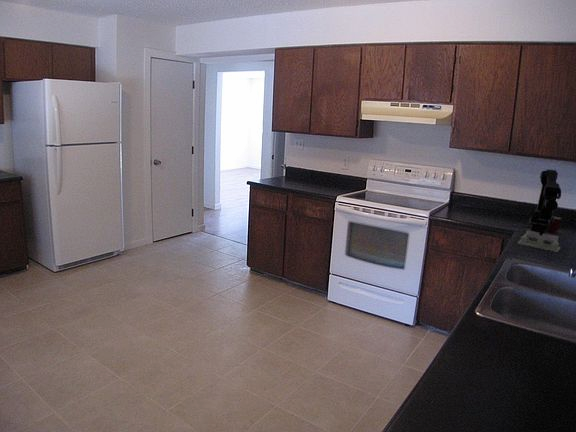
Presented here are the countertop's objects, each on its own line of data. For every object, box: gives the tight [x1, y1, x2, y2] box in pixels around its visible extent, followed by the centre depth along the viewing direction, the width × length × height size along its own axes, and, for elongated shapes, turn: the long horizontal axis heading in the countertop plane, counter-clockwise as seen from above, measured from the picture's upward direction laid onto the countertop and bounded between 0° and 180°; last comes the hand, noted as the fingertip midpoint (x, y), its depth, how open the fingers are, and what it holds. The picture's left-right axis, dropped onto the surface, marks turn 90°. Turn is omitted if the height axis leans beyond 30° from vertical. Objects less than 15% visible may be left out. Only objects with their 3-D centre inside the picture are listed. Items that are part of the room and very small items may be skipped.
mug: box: [546, 216, 562, 234], centre depth 299 cm, size 10×8×10 cm
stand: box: [517, 234, 562, 253], centre depth 261 cm, size 11×20×4 cm, turn 52°
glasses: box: [524, 229, 559, 244], centre depth 261 cm, size 9×16×3 cm, turn 52°
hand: (542, 234), depth 262 cm, fingers open, 9 cm apart
